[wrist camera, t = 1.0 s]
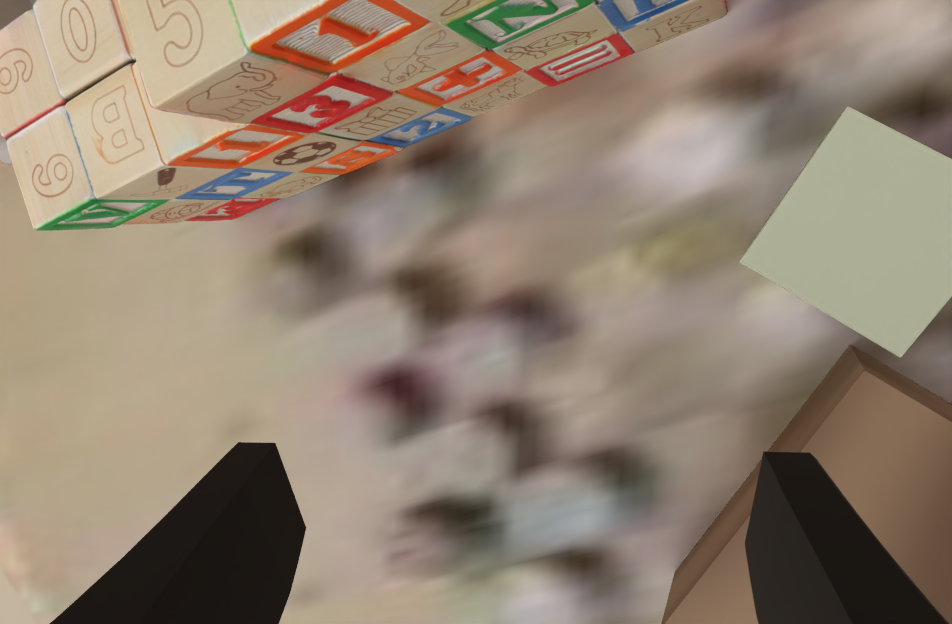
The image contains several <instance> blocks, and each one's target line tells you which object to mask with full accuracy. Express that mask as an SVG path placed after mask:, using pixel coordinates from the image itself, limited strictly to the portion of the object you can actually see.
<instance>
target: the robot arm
mask: <svg viewBox="0 0 952 624" xmlns="http://www.w3.org/2000/svg"><path fill="white" fill-rule="evenodd" d="M305 530H306V526H305V524H304V521H303V518H302V515H301V513H300V510H299V507H298V504H297V502H296V499H295V496H294V493H293V491H292V488H291V485H290V482H289V480H288V477H287V474H286V471H285V469H284V466H283V463H282V460H281V458H280V455H279V452H278V449H277V447H276V444H275V443H242V442H238V443H237V444H236V445H235V446H234V447H233V448H232V449H231V450H230V451H229V452H228V453H227V454H226V455H225V456H224V457H223V458H222V459H221V460H220V461H219V462H218V463H217V464H216V465H215V466H214V467H213V468H212V469H211V470H210V471H209V472H208V473H207V474H206V475H205V476H204V477H203V478H202V479H201V480H200V481H199V482H198V483H197V484H196V485H195V486H194V487H193V488H192V489H191V490H190V491H189V492H188V493H187V494H186V495H185V496H184V497H183V498H182V499H181V500H180V501H179V502H178V503H177V505H176V506H175V507H174V508H173V509H172V510H171V511H170V512H169V513H168V514H167V515H166V516H165V517H164V518H163V519H162V520H161V521H160V522H159V523H157V524H156V525H155V526H154V527H153V528H152V529H151V530H150V531H149V532H148V533H147V534H146V535H145V536H144V537H143V538H142V539H141V540H140V541H139V542H138V543H137V544H136V545H135V546H134V547H133V548H132V549H131V550H130V551H129V552H128V553H127V554H126V555H125V556H124V557H123V558H122V559H121V560H120V561H118V562H117V563H116V564H115V565H114V566H113V567H112V568H111V569H110V570H109V571H108V572H106V573H105V574H104V575H103V576H102V577H101V578H100V579H99V580H98V581H97V582H95V583H94V584H93V585H92V586H91V587H90V588H89V589H88V590H87V591H86V592H85V593H83V594H82V595H81V596H80V597H79V598H78V599H77V600H76V601H75V602H74V603H73V604H71V605H70V606H69V607H68V608H67V609H66V610H65V611H64V612H63V613H62V614H60V615H59V616H58V617H57V618H56V619H55V620H54V621H52V622H51V623H50V624H279V621H280V619H281V616H282V613H283V611H284V608H285V605H286V602H287V600H288V597H289V594H290V591H291V587H292V583H293V580H294V576H295V572H296V568H297V564H298V560H299V556H300V552H301V547H302V543H303V539H304V535H305ZM745 550H746V556H747V563H748V569H749V576H750V582H751V588H752V594H753V599H754V605H755V611H756V616H757V620H758V624H949V623H948V622H947V621H946V620H945V618H944V617H943V616H942V615H941V614H940V613H939V612H938V611H937V609H936V608H935V607H934V606H933V605H932V604H931V602H930V601H929V600H928V599H927V598H926V596H925V595H924V594H923V593H922V592H921V591H920V589H919V588H918V587H917V586H916V585H915V583H914V582H913V581H912V580H911V579H910V578H909V576H908V575H907V574H906V573H905V572H904V570H903V569H902V568H901V567H900V566H899V565H898V563H897V562H896V561H895V560H894V559H893V557H892V556H891V555H890V554H889V552H888V551H887V550H886V549H885V547H884V546H883V545H882V544H881V543H880V541H879V540H878V539H877V537H876V536H875V535H874V534H873V532H872V531H871V530H870V529H869V527H868V526H867V525H866V524H865V522H864V521H863V520H862V518H861V517H860V516H859V515H858V513H857V512H856V511H855V509H854V508H853V507H852V506H851V504H850V503H849V502H848V500H847V499H846V498H845V496H844V495H843V494H842V492H841V491H840V490H839V488H838V487H837V486H836V484H835V483H834V482H833V480H832V479H831V478H830V476H829V475H828V474H827V472H826V471H825V470H824V468H823V467H822V466H821V464H820V463H819V461H818V460H817V459H816V458H815V457H814V456H813V455H812V454H811V453H806V452H763V457H762V462H761V467H760V472H759V476H758V481H757V486H756V491H755V496H754V501H753V505H752V510H751V515H750V520H749V525H748V530H747V534H746V539H745Z"/></svg>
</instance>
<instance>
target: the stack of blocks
mask: <svg viewBox="0 0 952 624" xmlns="http://www.w3.org/2000/svg"><path fill="white" fill-rule="evenodd" d="M726 14H727V7H726V4H725V0H37V1H36V2H35V3H34V5H33V8H32V9H31V10H29V11H26V12H25V13H23V14H22V15H20V16H19V17H18V18H16V19H15V20H13V21H12V22H11V23H9V24H8V25H7V26H6V27H4V28H2V29H1V30H0V133H1V136H2V137H4V138H5V139H6V141H7V147H8V151H9V154H10V157H11V161H12V164H13V167H14V170H15V173H16V176H17V180H18V183H19V186H20V189H21V191H22V194H23V198H24V201H25V204H26V207H27V210H28V213H29V216H30V219H31V222H32V225H33V228H34V229H35V230H73V229H100V228H114V227H116V226H119V225H121V224H156V223H178V222H182V221H215V220H233V219H235V218H238V217H240V216H242V215H244V214H246V213H249V212H251V211H253V210H255V209H258V208H260V207H262V206H264V205H267V204H269V203H271V202H273V201H276V200H278V199H281V198H288V197H291V196H293V195H296V194H298V193H300V192H303V191H305V190H308V189H310V188H312V187H315V186H317V185H319V184H322V183H324V182H326V181H329V180H331V179H333V178H336V177H338V176H339V175H341V174H346V173H348V172H351V171H354V170H356V169H358V168H361V167H363V166H365V165H368V164H370V163H373V162H375V161H378V160H380V159H383V158H385V157H387V156H390V155H392V154H394V153H397V152H399V151H402V150H403V148H404V147H405V146H407V145H411V144H413V143H416V142H418V141H420V140H423V139H425V138H427V137H430V136H432V135H435V134H437V133H439V132H442V131H444V130H447V129H449V128H452V127H454V126H456V125H459V124H461V123H464V122H466V121H469V120H470V119H471V118H473V117H475V116H478V115H481V114H483V113H486V112H488V111H491V110H493V109H495V108H498V107H500V106H503V105H505V104H507V103H510V102H512V101H515V100H517V99H519V98H522V97H524V96H526V95H529V94H531V93H533V92H536V91H538V90H540V89H543V88H544V87H547V86H555V85H558V84H560V83H563V82H565V81H568V80H570V79H573V78H575V77H577V76H580V75H582V74H584V73H587V72H589V71H592V70H594V69H597V68H599V67H602V66H604V65H606V64H609V63H611V62H614V61H616V60H618V59H621V58H623V57H626V56H628V55H630V54H633V53H635V52H638V51H642V50H644V49H647V48H649V47H652V46H654V45H657V44H659V43H662V42H664V41H667V40H669V39H671V38H674V37H676V36H679V35H681V34H684V33H686V32H688V31H691V30H693V29H696V28H698V27H701V26H703V25H705V24H708V23H710V22H713V21H715V20H717V19H720V18H722V17H723V16H725V15H726Z"/></svg>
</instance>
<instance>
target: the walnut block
mask: <svg viewBox="0 0 952 624" xmlns="http://www.w3.org/2000/svg"><path fill="white" fill-rule="evenodd" d="M768 452H806V453H811V454H812V455H813V456H814V457H815V458H816V459H817V460H818V461H819V463H820V464H821V466H822V467H823V468H824V470H825V471H826V472H827V474H828V475H829V476H830V478H831V479H832V480H833V482H834V483H835V484H836V486H837V487H838V488H839V490H840V491H841V492H842V494H843V495H844V496H845V498H846V499H847V500H848V502H849V503H850V504H851V506H852V507H853V508H854V509H855V511H856V512H857V513H858V515H859V516H860V517H861V518H862V520H863V521H864V522H865V524H866V525H867V526H868V527H869V529H870V530H871V531H872V532H873V534H874V535H875V536H876V537H877V539H878V540H879V541H880V543H881V544H882V545H883V546H884V547H885V549H886V550H887V551H888V552H889V554H890V555H891V556H892V557H893V559H894V560H895V561H896V562H897V563H898V565H899V566H900V567H901V568H902V569H903V570H904V572H905V573H906V574H907V575H908V576H909V578H910V579H911V580H912V581H913V582H914V583H915V585H916V586H917V587H918V588H919V589H920V591H921V592H922V593H923V594H924V595H925V596H926V598H927V599H928V600H929V601H930V602H931V604H932V605H933V606H934V607H935V608H936V609H937V611H938V612H939V613H940V614H941V615H942V616H943V617H944V618H945V620H946V621H947V622H948V623H949V624H952V404H950V403H949V402H947V401H945V400H943V399H942V398H940V397H938V396H937V395H935V394H933V393H931V392H930V391H928V390H926V389H925V388H923V387H921V386H920V385H918V384H916V383H914V382H913V381H911V380H909V379H908V378H906V377H904V376H902V375H901V374H899V373H897V372H896V371H894V370H892V369H890V368H889V367H887V366H885V365H884V364H882V363H880V362H878V361H877V360H875V359H873V358H872V357H870V356H868V355H867V354H865V353H863V352H861V351H860V350H858V349H856V348H855V347H853V346H851V345H849V347H848V348H847V349H846V351H845V352H844V353H843V354H842V356H841V357H840V358H839V360H838V361H837V362H836V364H835V365H834V366H833V367H832V369H831V370H830V371H829V373H828V374H827V375H826V377H825V378H824V379H823V380H822V382H821V383H820V384H819V386H818V387H817V388H816V390H815V391H814V392H813V393H812V395H811V396H810V397H809V399H808V400H807V401H806V403H805V404H804V405H803V406H802V408H801V409H800V410H799V412H798V413H797V414H796V416H795V417H794V418H793V419H792V421H791V422H790V423H789V425H788V426H787V427H786V429H785V430H784V431H783V432H782V434H781V435H780V436H779V438H778V439H777V440H776V442H775V443H774V444H773V445H772V447H771V448H770V449H769V451H768ZM761 462H762V460H761V461H760V462H759V464H758V465H757V466H756V468H755V469H754V470H753V471H752V473H751V474H750V475H749V477H748V478H747V479H746V480H745V482H744V483H743V484H742V486H741V487H740V488H739V490H738V491H737V492H736V493H735V495H734V496H733V497H732V499H731V500H730V501H729V503H728V504H727V505H726V506H725V508H724V509H723V510H722V512H721V513H720V514H719V516H718V517H717V518H716V519H715V521H714V522H713V523H712V525H711V526H710V527H709V529H708V530H707V531H706V532H705V534H704V535H703V536H702V538H701V539H700V540H699V542H698V543H697V544H696V545H695V547H694V548H693V549H692V551H691V552H690V553H689V555H688V556H687V557H686V558H685V560H684V561H683V562H682V564H681V565H680V566H679V568H678V569H677V570H676V571H675V574H674V578H673V581H672V585H671V589H670V593H669V597H668V601H667V605H666V608H665V612H664V616H663V620H662V624H758V620H757V616H756V611H755V605H754V599H753V594H752V588H751V582H750V576H749V569H748V563H747V556H746V550H745V539H746V534H747V530H748V525H749V520H750V515H751V510H752V505H753V501H754V496H755V491H756V486H757V481H758V476H759V472H760V467H761Z"/></svg>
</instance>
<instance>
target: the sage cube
mask: <svg viewBox="0 0 952 624" xmlns="http://www.w3.org/2000/svg"><path fill="white" fill-rule="evenodd" d="M740 263H742V264H744V265H745V266H747V267H749V268H750V269H752V270H754V271H755V272H757V273H759V274H760V275H762V276H764V277H765V278H767V279H769V280H770V281H772V282H774V283H775V284H777V285H779V286H781V287H782V288H784V289H786V290H787V291H789V292H791V293H792V294H794V295H796V296H797V297H799V298H801V299H802V300H804V301H806V302H807V303H809V304H811V305H812V306H814V307H816V308H817V309H819V310H821V311H823V312H824V313H826V314H828V315H829V316H831V317H833V318H834V319H836V320H838V321H839V322H841V323H843V324H844V325H846V326H848V327H849V328H851V329H853V330H854V331H856V332H858V333H860V334H861V335H863V336H865V337H866V338H868V339H870V340H871V341H873V342H875V343H876V344H878V345H880V346H881V347H883V348H885V349H886V350H888V351H890V352H891V353H893V354H895V355H896V356H898V357H900V358H901V357H902V356H903V355H904V353H905V352H906V351H907V350H908V348H909V347H910V346H911V345H912V344H913V342H914V341H915V340H916V339H917V338H918V336H919V335H920V334H921V333H922V332H923V330H924V329H925V328H926V327H927V326H928V324H929V323H930V322H931V321H932V319H933V318H934V317H935V316H936V315H937V313H938V312H939V311H940V310H941V309H942V307H943V306H944V305H945V304H946V303H947V301H948V300H949V299H950V298H951V297H952V159H951V158H949V157H947V156H945V155H943V154H941V153H939V152H937V151H935V150H933V149H931V148H929V147H927V146H925V145H923V144H921V143H919V142H917V141H915V140H913V139H911V138H909V137H907V136H905V135H903V134H901V133H899V132H897V131H895V130H893V129H891V128H889V127H888V126H886V125H884V124H882V123H880V122H878V121H876V120H874V119H872V118H870V117H868V116H866V115H864V114H862V113H860V112H858V111H856V110H854V109H852V108H850V107H848V106H847V108H846V109H845V110H844V112H843V113H842V114H841V116H840V117H839V118H838V119H837V121H836V122H835V123H834V125H833V126H832V128H831V129H830V130H829V132H828V133H827V135H826V136H825V138H824V139H823V141H822V142H821V143H820V145H819V146H818V148H817V149H816V151H815V152H814V154H813V155H812V156H811V158H810V159H809V161H808V162H807V164H806V165H805V166H804V168H803V169H802V171H801V172H800V174H799V175H798V177H797V178H796V179H795V181H794V182H793V184H792V185H791V187H790V188H789V190H788V191H787V192H786V194H785V195H784V197H783V198H782V200H781V201H780V203H779V204H778V205H777V207H776V208H775V210H774V211H773V213H772V214H771V216H770V217H769V218H768V220H767V221H766V223H765V224H764V226H763V227H762V228H761V230H760V231H759V233H758V234H757V236H756V237H755V239H754V240H753V241H752V243H751V244H750V246H749V247H748V249H747V250H746V252H745V253H744V255H743V257H742V258H741V260H740Z"/></svg>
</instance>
